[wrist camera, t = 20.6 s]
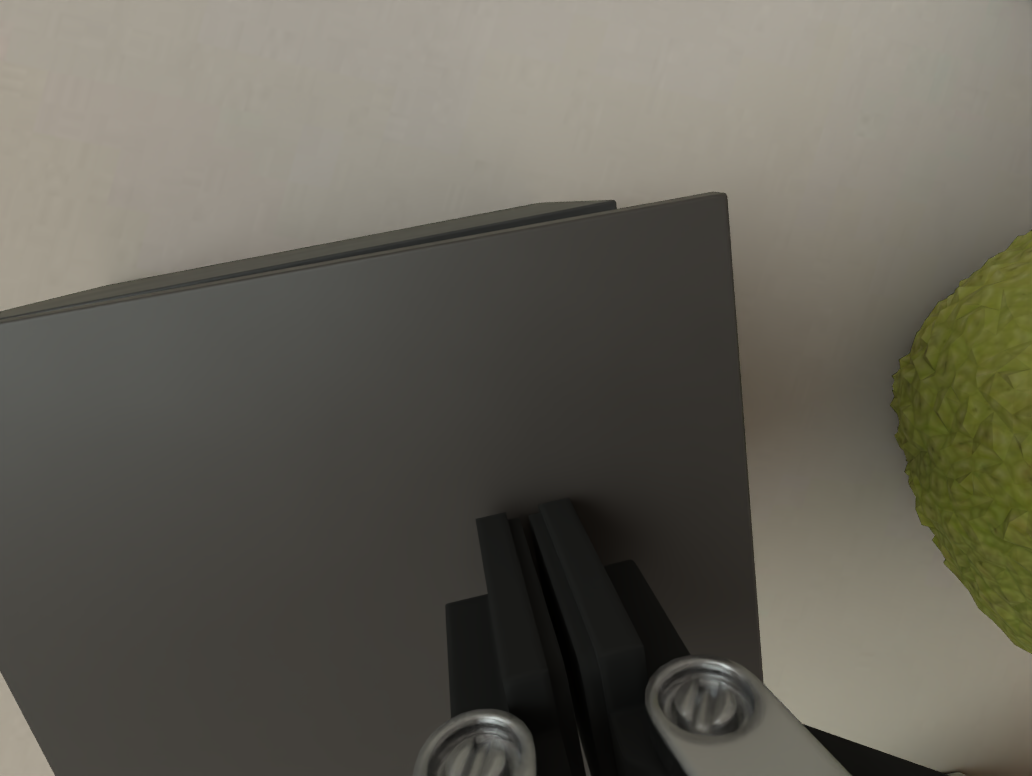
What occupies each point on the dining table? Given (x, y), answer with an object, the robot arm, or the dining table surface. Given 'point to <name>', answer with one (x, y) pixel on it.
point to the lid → (356, 484)
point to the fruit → (977, 434)
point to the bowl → (956, 774)
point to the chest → (325, 253)
